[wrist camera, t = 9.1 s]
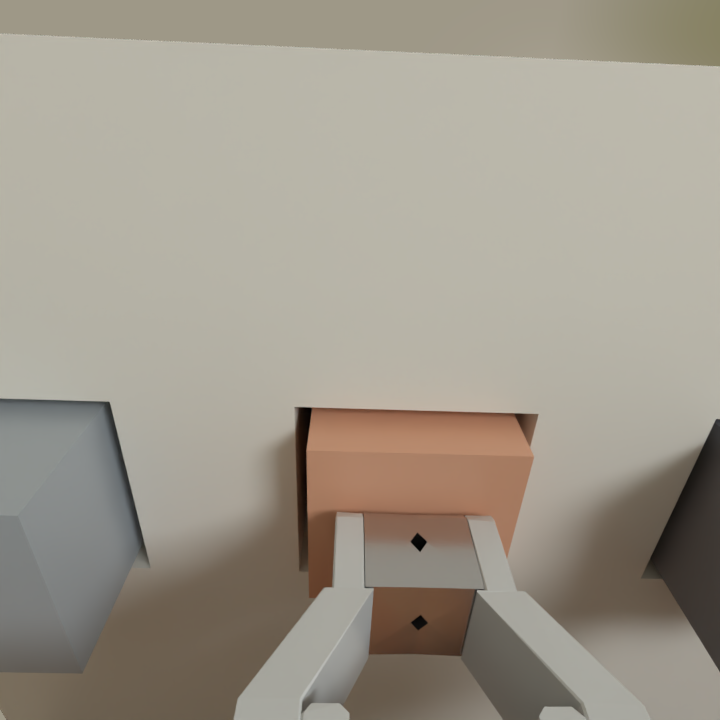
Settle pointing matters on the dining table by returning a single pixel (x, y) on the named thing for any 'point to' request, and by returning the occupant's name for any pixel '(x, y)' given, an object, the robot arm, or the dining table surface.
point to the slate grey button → (61, 531)
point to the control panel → (361, 331)
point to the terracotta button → (410, 471)
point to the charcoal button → (696, 547)
